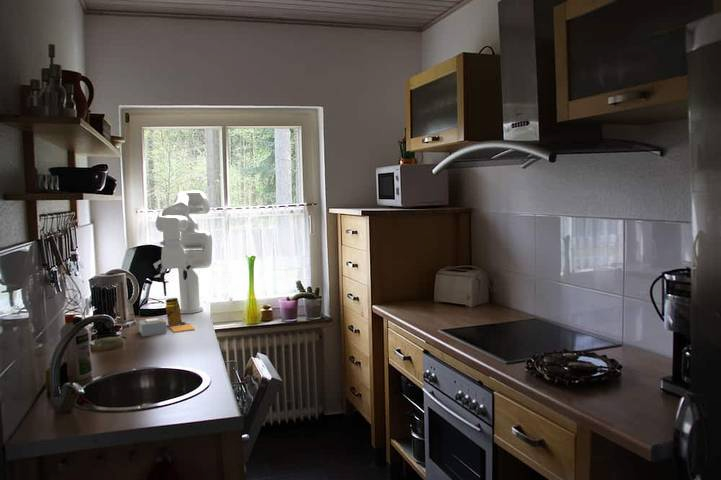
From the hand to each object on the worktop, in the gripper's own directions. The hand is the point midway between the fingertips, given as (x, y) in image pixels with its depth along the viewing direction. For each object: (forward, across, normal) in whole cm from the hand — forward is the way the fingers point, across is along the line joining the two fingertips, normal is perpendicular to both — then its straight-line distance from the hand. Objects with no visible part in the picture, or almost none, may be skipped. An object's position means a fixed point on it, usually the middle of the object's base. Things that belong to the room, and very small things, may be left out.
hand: (174, 280), depth 276 cm
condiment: (+21, 0, 0) cm, 21 cm away
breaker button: (+19, -12, -10) cm, 24 cm away
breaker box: (+21, -12, -10) cm, 26 cm away
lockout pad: (+21, +1, -10) cm, 23 cm away
